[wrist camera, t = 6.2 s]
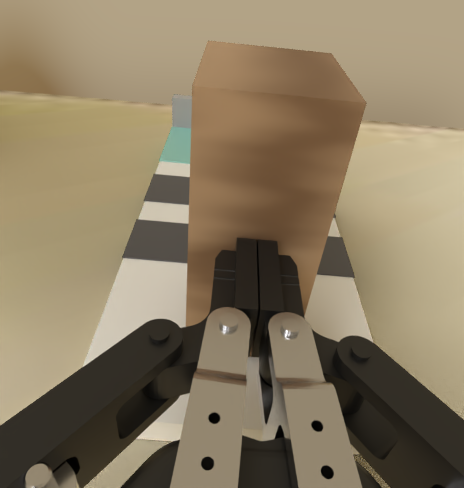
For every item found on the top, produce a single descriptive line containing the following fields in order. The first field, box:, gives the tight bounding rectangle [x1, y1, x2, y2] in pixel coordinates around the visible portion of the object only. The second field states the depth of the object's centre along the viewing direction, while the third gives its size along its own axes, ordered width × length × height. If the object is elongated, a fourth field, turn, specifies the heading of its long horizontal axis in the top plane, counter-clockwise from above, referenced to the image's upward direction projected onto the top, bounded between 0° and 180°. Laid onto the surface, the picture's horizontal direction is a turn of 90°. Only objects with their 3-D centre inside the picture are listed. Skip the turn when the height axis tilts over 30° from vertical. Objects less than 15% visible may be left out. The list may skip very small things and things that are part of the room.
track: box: [83, 94, 373, 455], centre depth 29 cm, size 14×32×4 cm, turn 178°
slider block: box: [186, 41, 366, 356], centre depth 18 cm, size 5×6×12 cm
